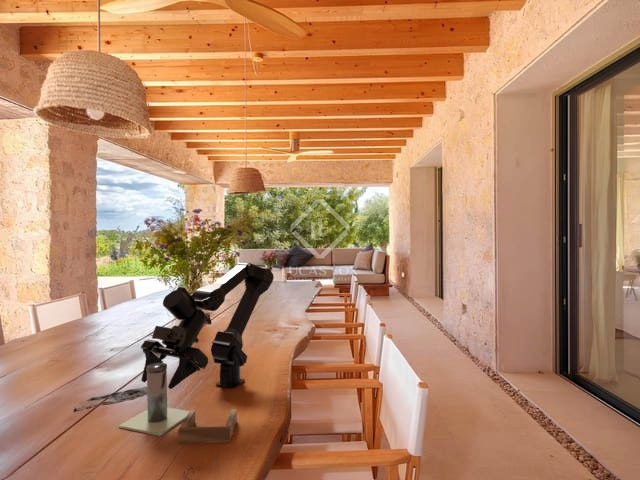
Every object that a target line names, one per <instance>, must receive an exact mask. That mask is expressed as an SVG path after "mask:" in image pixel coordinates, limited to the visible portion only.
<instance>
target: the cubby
mask: <svg viewBox="0 0 640 480" xmlns="http://www.w3.org/2000/svg"><path fill="white" fill-rule="evenodd" d="M237 410H238V409H236V408H235V409H234V408H233V409H231V410H230V414H229V415H228V418H227V420H226V423H225V425H224V426H195V423H196V409H190V410H188V411H189V413H188V414H187V416H186V418H185V419H184V420H183V421H182V422H181V423H180V426H179V428H178V429H177V437H178V439H177V440H178V441H177V443H178V444H211V443H214V444H215V443H217V444H218V443H219V444H220V443H221V444H222V443H231V441H232V436H233V434H234V431H235V428H236V424H237V421H238V420H237V419H238V417H237V416H238V415H237V413H238V412H237Z"/></svg>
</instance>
